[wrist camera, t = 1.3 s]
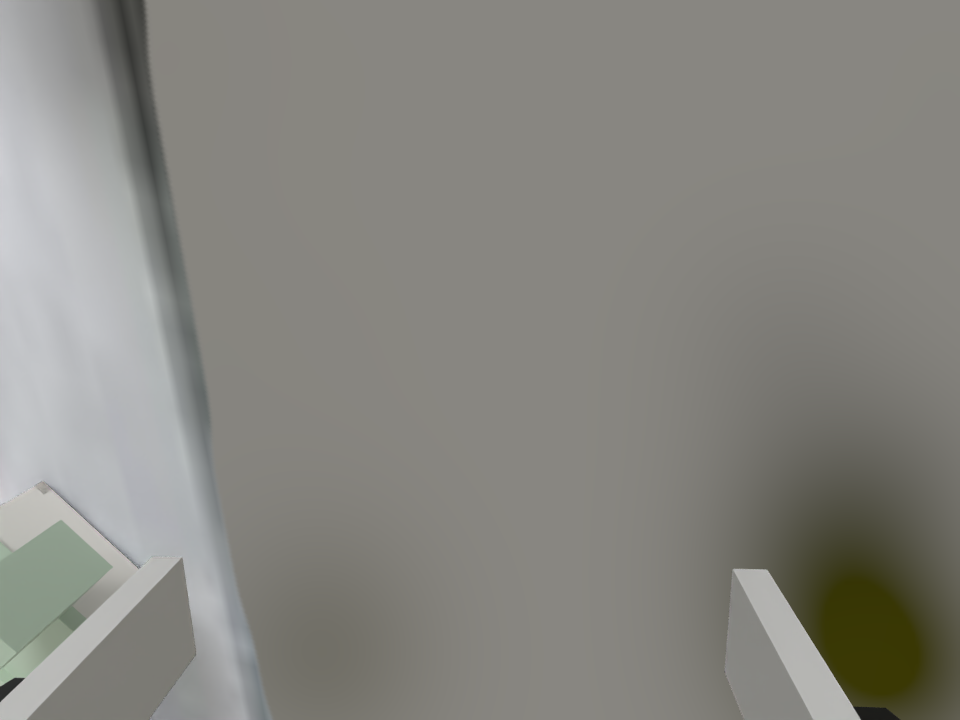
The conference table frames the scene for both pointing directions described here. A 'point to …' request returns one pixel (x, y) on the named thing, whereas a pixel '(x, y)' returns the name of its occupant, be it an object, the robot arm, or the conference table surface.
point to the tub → (46, 508)
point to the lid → (43, 596)
